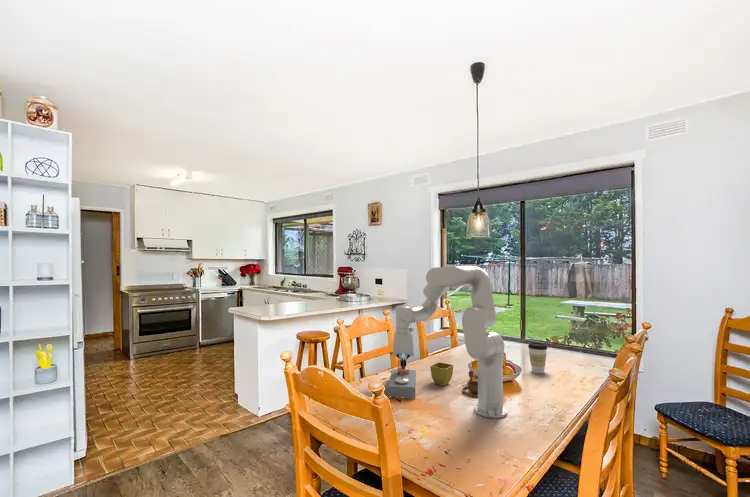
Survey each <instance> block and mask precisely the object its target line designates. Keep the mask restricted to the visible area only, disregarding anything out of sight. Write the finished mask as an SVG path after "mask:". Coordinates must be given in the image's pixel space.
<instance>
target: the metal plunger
mask: <svg viewBox="0 0 750 497" xmlns="http://www.w3.org/2000/svg"><path fill="white" fill-rule="evenodd" d="M396 383H398V384H407V383H409V379H408V378H406V377H397V378H396Z"/></svg>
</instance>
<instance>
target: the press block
mask: <svg viewBox="0 0 750 497" xmlns="http://www.w3.org/2000/svg"><path fill="white" fill-rule="evenodd" d="M416 374H417V372H416V369H409V372H407V375H399V372H398V371H397V368H395V369H394V368H392V369H391V373H390V377H389V381H388V385H387V397H388V396H389V397H390V396H391V397H404V398H415V399H416V389H415V388H416V386H417V385H416V383H417V382H416V381H417V379H416V378H417V376H416ZM397 377H406V378H408V379H409V383H407V384H398V383H396V378H397ZM404 398H403V399H404Z"/></svg>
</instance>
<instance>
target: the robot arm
mask: <svg viewBox="0 0 750 497" xmlns="http://www.w3.org/2000/svg"><path fill="white" fill-rule="evenodd" d="M425 282H426V285H425V287H424V288H423V289H422V292H423V295H424V296H425V297H426V299H425V300H424V302H423V303H422V304H421V305H418V306H417V305H416V306H409V305H397V306H396V307H395V332H394V334H393V341H392V342H393V343H392V356H394V357H397V358H398V360H399V367H400V366H402V369H403V368H404V369H405V367H407V360H408V359H409V358H412V357H414V356H415V353H414V349H415V347H414V346H415V345H414V335H413V332H414V331H415V328H412V324H416V323H419V322H420V323H421V322H425V321H427V320H429V319H430V318H431V317H432V316H433V315H434V313H435V312H436V311H437V309H438V308H439V307H438V306H439V300H440V299H441V297H443V296H444V293H446V291H448V289H450V288H451V287H453V288H454V287H455V288H456V287H457V288H459V287H466V286H467V287H468V286H469V287H470V286H471V291H470V299H471V305H472V306H470V307H467V308H466V309H465V310H464V312H463V314H462V317H461V322H462V323H461V325H462V331H463V339H464V344H465V348H466V351H467V354H468V355H469V356H470V358H472V359H474V360H477V381H478V394H477V395H478V397H477V404H475V405H474V406H473V410H474V412H475V413H476V414H478V415H479V416H482V417H485V418H489V419H502V418H504V417H506V416H507V415H508V409H507V408H506V407H504V394H503V393H504V390H503V389H504V387H503V386H504V385H503V377H504V376H503V365H504V364H503V362H504V354H505V343H504V339H503V337H502V335H500V334H499V333H497V332H496V331H495V332H494V331H487V329H490V328H492V327H494V326H495V324H497V315H496V314H497V313H496V308H495V302H494V297H493V292H492V291H493V290H492V284H491V283H492V282H491V278H490V276H489V274H488V273H487V272H486V270H484V268H483V269H482V268H480V267H478V266H474V265H455V266H450V265H449V266H441V267H440V266H438V267H431V268H430V269H429V270H428V271H427V272H426V275H425ZM403 355H404V357H403Z"/></svg>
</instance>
